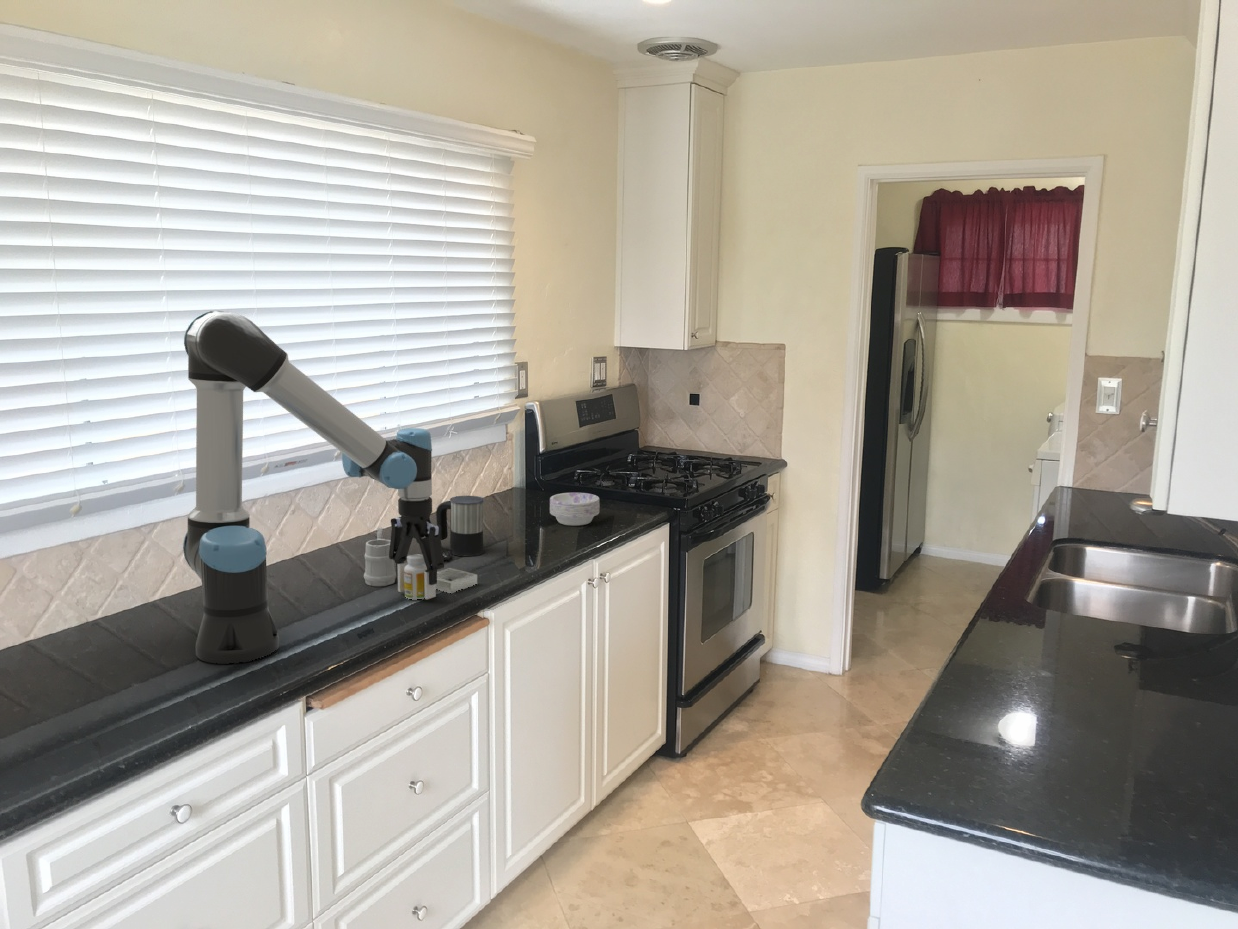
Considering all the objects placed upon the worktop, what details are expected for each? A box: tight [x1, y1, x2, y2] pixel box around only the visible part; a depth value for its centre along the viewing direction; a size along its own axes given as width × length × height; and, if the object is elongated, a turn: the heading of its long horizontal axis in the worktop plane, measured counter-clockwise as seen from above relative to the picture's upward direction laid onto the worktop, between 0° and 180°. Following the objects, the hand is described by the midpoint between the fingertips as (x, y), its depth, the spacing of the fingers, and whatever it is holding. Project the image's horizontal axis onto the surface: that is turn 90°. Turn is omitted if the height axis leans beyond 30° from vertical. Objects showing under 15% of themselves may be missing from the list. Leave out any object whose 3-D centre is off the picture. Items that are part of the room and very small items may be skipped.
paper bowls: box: [549, 492, 601, 527], centre depth 294 cm, size 15×15×8 cm
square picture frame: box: [435, 567, 478, 594], centre depth 230 cm, size 9×9×2 cm
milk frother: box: [435, 495, 486, 561], centre depth 255 cm, size 14×16×15 cm
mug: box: [363, 526, 397, 587], centre depth 232 cm, size 8×12×12 cm, turn 13°
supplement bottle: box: [404, 553, 427, 601], centre depth 220 cm, size 5×5×10 cm
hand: (416, 593), depth 221 cm, fingers open, 8 cm apart
